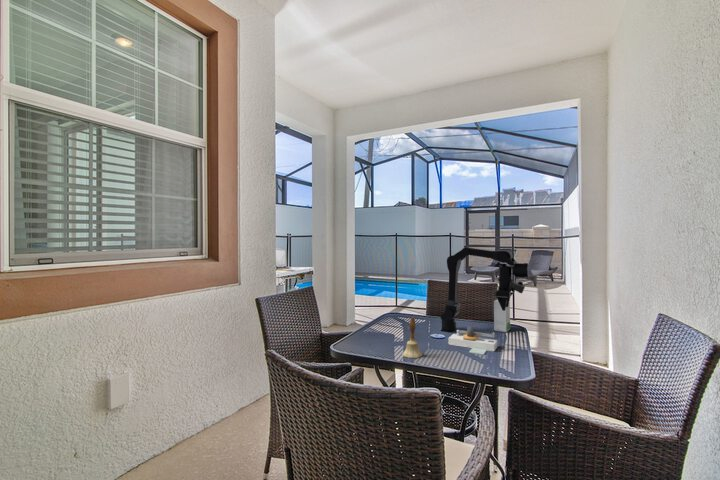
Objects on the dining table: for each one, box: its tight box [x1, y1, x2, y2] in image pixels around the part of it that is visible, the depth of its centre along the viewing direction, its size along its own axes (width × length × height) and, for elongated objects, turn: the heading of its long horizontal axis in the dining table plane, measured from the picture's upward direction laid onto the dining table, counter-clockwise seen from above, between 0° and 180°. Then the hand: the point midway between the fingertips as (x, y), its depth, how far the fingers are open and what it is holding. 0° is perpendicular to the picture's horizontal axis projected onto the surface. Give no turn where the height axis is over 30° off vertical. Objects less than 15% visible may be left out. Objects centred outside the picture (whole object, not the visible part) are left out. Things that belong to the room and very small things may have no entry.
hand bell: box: [402, 316, 423, 359], centre depth 148 cm, size 8×8×16 cm
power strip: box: [448, 332, 498, 352], centre depth 160 cm, size 20×8×4 cm, turn 59°
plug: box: [462, 326, 479, 341], centre depth 160 cm, size 6×6×8 cm
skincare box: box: [493, 299, 511, 333], centre depth 185 cm, size 8×7×16 cm
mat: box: [468, 348, 488, 356], centre depth 151 cm, size 6×6×1 cm
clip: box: [456, 329, 496, 338], centre depth 161 cm, size 17×2×2 cm, turn 59°
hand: (505, 308), depth 169 cm, fingers open, 9 cm apart
